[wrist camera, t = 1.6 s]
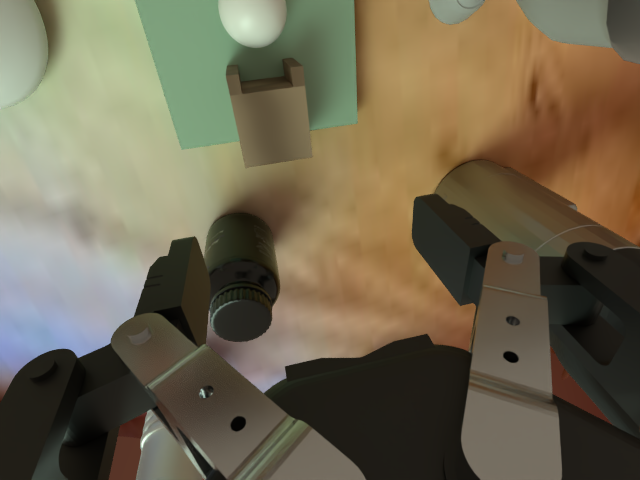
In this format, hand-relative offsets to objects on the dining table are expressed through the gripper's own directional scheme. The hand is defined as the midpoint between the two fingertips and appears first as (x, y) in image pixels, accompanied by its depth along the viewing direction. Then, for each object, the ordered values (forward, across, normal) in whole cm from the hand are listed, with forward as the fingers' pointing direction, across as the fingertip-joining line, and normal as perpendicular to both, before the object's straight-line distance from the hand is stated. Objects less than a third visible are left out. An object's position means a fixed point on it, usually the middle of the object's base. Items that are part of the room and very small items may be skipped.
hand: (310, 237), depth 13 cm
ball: (+17, 0, -7) cm, 19 cm away
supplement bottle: (+22, +5, +13) cm, 26 cm away
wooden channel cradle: (+19, 0, 0) cm, 19 cm away
